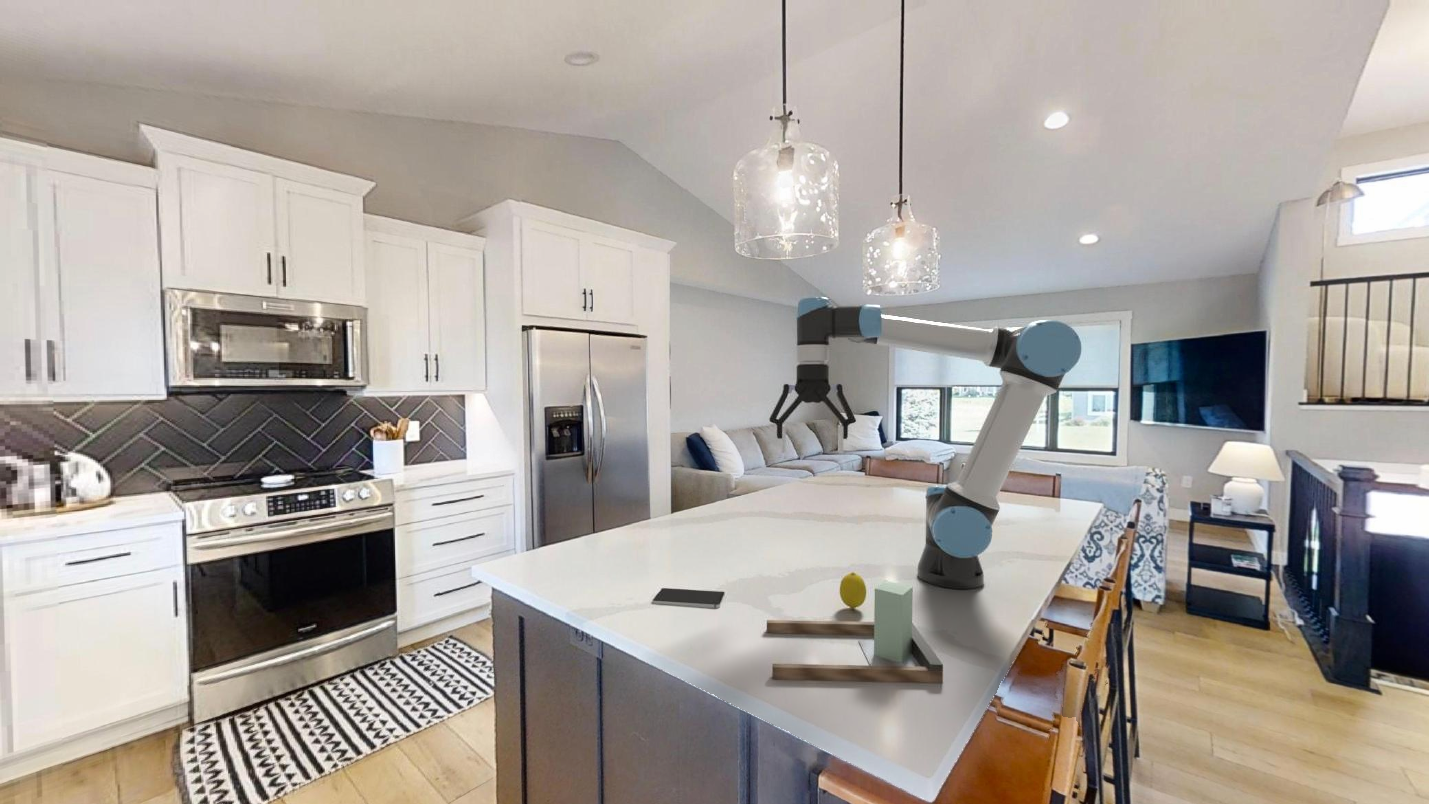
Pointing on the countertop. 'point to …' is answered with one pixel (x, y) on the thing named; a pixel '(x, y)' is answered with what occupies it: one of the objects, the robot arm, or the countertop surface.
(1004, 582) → the countertop surface
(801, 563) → the countertop surface
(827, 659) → the countertop surface
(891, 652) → the block
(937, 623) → the countertop surface
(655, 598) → the smartphone
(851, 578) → the lemon
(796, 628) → the track
